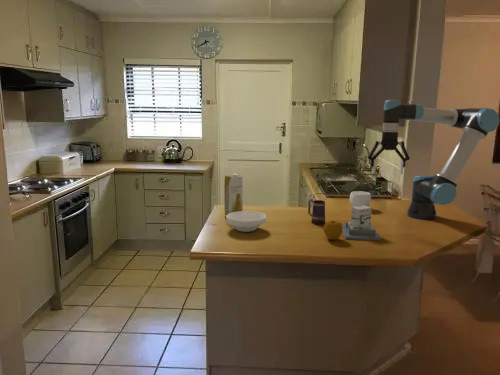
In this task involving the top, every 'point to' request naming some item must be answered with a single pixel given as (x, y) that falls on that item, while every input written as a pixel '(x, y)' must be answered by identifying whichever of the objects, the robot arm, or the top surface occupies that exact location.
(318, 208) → the mug
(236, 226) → the bowl
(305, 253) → the top surface
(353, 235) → the tray
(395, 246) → the top surface
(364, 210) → the ink box
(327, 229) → the apple
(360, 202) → the cup
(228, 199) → the juice carton
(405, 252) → the top surface
